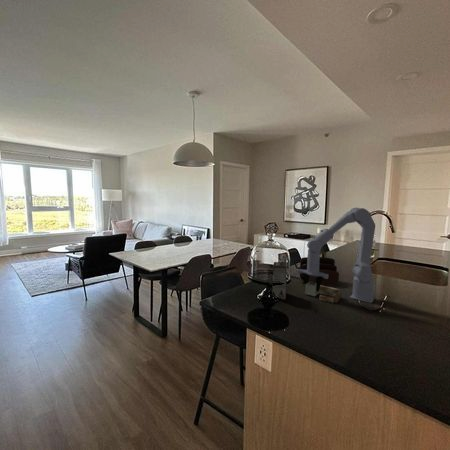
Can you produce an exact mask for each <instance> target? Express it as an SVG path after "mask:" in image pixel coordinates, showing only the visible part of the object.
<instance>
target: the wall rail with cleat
mask: <svg viewBox="0 0 450 450" xmlns="http://www.w3.org/2000/svg"><path fill="white" fill-rule="evenodd" d="M340 291H341V289H340V288H335V287H331V286H328V285H320V289H319V293H320V295H319V297H318V300H319V301H322V300H323V302H326V301H328V302H327V303H330V302H331V303H330V304H334V302H335V304H337V303H338V302H339V301H340V300H341V298H342V297H341V296H342V293H341V292H340ZM328 295H329V296H328Z"/></svg>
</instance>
